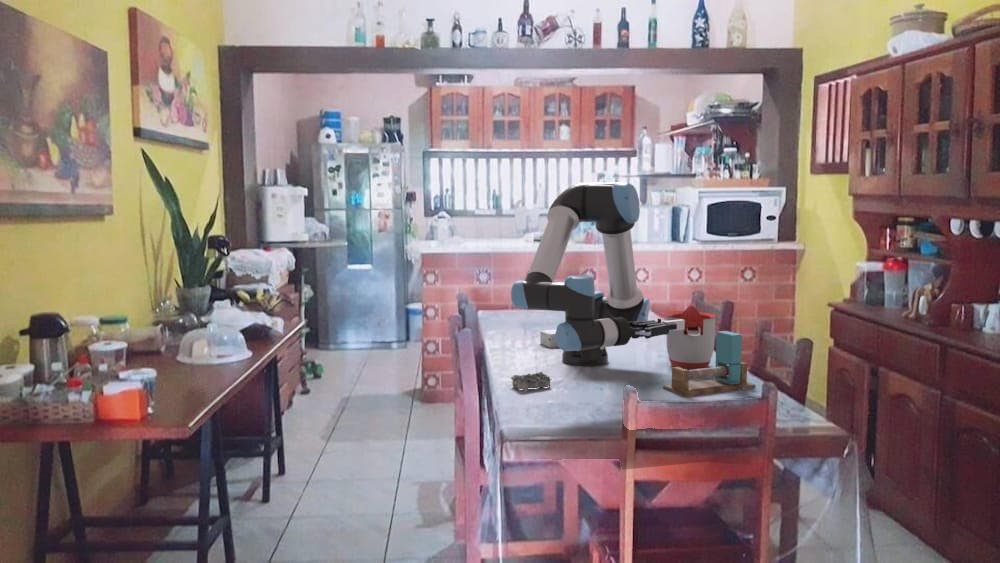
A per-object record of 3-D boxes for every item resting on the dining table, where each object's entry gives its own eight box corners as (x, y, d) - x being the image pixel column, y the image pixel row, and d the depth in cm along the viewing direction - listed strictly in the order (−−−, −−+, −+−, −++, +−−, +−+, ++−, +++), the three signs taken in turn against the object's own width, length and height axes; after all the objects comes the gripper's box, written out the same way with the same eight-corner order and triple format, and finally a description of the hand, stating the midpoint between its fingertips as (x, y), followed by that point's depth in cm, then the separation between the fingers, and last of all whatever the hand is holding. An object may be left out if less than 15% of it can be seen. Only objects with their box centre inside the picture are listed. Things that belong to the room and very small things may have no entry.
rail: (685, 396, 207) (686, 373, 206) (663, 388, 216) (663, 365, 215) (755, 387, 217) (756, 364, 217) (731, 379, 226) (732, 358, 226)
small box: (539, 344, 282) (539, 330, 281) (557, 342, 285) (558, 328, 284) (550, 347, 275) (550, 334, 274) (568, 346, 278) (568, 332, 277)
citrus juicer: (667, 372, 236) (669, 309, 234) (663, 360, 253) (664, 301, 251) (718, 373, 234) (720, 310, 232) (710, 361, 251) (712, 302, 249)
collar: (730, 384, 216) (732, 335, 214) (715, 379, 221) (716, 331, 220) (740, 383, 217) (741, 334, 215) (724, 378, 223) (726, 330, 221)
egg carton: (519, 392, 212) (519, 378, 212) (509, 386, 219) (509, 372, 219) (553, 389, 216) (553, 375, 216) (542, 383, 223) (542, 369, 223)
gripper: (598, 341, 207) (668, 333, 217) (625, 351, 195) (697, 342, 205) (598, 314, 206) (668, 307, 216) (625, 322, 194) (698, 314, 204)
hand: (682, 324), depth 210 cm, fingers closed
